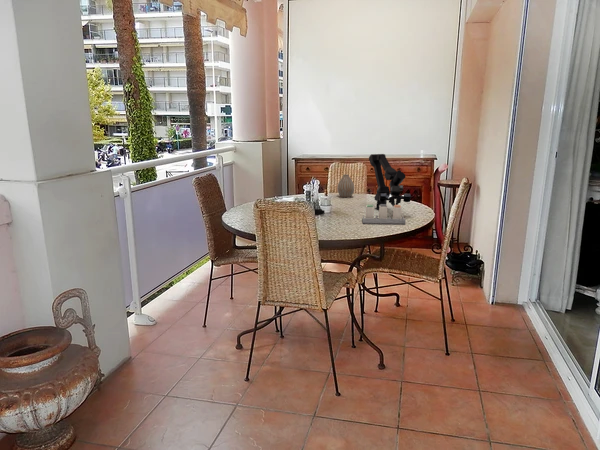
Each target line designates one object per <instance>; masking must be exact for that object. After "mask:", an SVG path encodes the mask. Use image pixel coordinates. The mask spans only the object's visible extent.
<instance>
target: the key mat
mask: <svg viewBox="0 0 600 450" xmlns="http://www.w3.org/2000/svg"><path fill="white" fill-rule="evenodd" d="M361 219H362V220H361V221H362V225H391V226H392V225H393V226H396V225H400V226H401V225H403V226H405V225H406V222H405V223H363V217H362V218H361Z"/></svg>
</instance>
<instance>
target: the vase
mask: <svg viewBox="0 0 600 450" xmlns="http://www.w3.org/2000/svg"><path fill="white" fill-rule="evenodd" d="M342 175H343V176H342V177H341V178H340V180H339V181H338V183H337V187H336V189H337V193H338V195H339V196H340V197H341V198H343V197H349V198H351V197H352V196H353V194H354V192H355V184H354V181H353V180H352V178H351V177H350V175H349V174H347V173H346V174H342Z"/></svg>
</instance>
